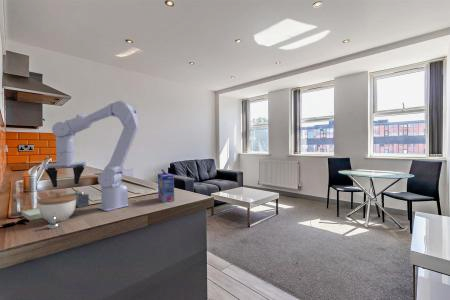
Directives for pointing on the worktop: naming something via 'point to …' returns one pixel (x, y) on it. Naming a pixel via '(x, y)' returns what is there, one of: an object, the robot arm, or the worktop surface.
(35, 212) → the stand
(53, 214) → the lidded jar
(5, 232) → the worktop surface
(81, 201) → the housing
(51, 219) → the bolt
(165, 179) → the blue juice carton
